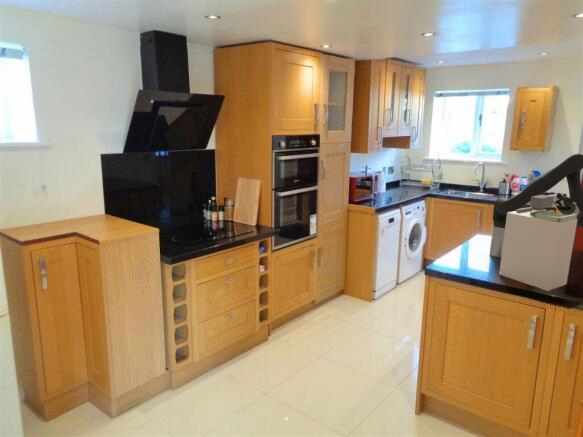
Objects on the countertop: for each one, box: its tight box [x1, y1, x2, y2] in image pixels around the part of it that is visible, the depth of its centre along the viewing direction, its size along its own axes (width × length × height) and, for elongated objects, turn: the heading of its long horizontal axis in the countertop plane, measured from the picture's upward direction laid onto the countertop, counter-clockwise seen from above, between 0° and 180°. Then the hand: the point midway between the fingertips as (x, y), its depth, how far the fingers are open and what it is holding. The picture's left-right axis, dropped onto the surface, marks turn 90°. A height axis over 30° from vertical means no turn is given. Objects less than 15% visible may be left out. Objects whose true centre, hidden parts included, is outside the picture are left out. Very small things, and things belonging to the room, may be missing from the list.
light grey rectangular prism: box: [529, 193, 564, 210], centre depth 203 cm, size 21×5×5 cm, turn 121°
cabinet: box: [498, 206, 577, 292], centre depth 202 cm, size 16×24×34 cm, turn 31°
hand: (554, 194), depth 205 cm, fingers closed on light grey rectangular prism, 2 cm apart
